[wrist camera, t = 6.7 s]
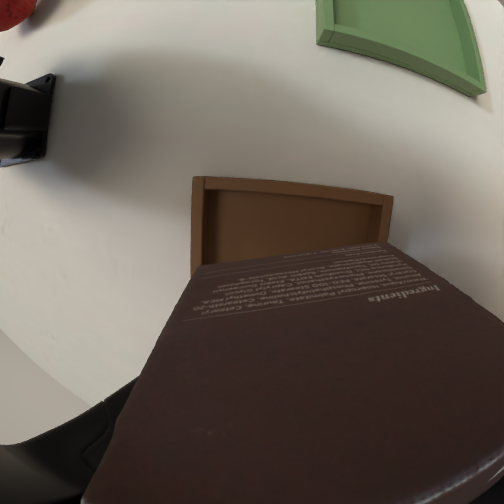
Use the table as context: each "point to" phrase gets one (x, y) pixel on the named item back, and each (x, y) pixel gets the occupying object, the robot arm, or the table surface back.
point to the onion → (15, 12)
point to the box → (314, 389)
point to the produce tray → (407, 37)
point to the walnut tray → (280, 218)
